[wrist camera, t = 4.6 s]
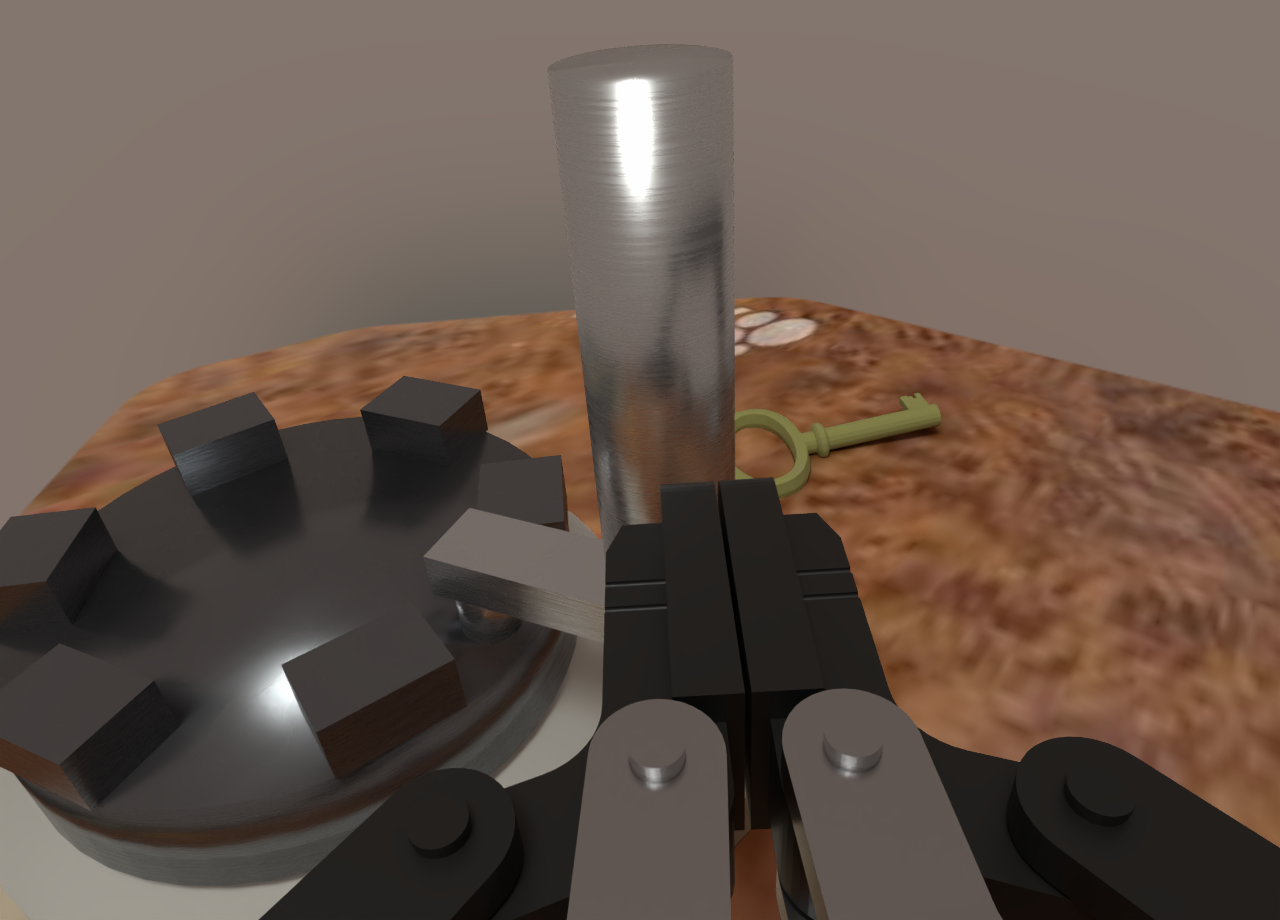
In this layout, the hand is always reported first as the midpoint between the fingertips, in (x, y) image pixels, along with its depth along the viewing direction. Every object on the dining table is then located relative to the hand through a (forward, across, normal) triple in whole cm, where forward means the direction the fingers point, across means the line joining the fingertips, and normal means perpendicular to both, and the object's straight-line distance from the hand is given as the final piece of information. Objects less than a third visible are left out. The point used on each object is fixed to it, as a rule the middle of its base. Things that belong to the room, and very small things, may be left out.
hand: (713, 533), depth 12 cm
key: (+30, -8, +20) cm, 36 cm away
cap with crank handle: (+9, +10, +12) cm, 18 cm away
